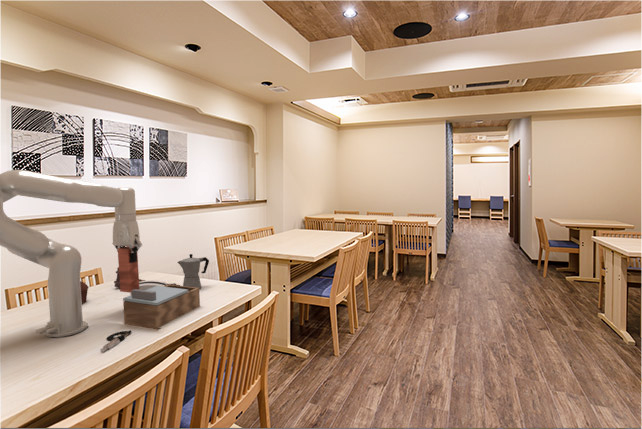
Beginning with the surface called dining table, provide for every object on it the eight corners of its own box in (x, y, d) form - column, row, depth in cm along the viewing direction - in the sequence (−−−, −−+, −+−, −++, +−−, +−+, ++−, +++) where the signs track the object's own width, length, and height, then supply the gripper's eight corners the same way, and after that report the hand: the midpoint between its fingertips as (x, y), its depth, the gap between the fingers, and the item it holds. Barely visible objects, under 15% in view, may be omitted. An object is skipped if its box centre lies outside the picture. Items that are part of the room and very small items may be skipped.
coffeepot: (179, 293, 174) (178, 257, 172) (176, 288, 182) (175, 253, 180) (211, 288, 182) (211, 254, 180) (207, 284, 190) (206, 250, 188)
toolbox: (158, 330, 130) (157, 306, 130) (124, 324, 136) (123, 301, 135) (199, 308, 153) (199, 287, 152) (169, 304, 158) (169, 284, 157)
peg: (129, 292, 145) (127, 249, 143) (120, 291, 147) (117, 248, 145) (139, 289, 150) (137, 247, 148) (130, 287, 152) (127, 246, 150)
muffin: (94, 302, 160) (92, 280, 159) (65, 309, 151) (64, 286, 150) (82, 297, 167) (80, 276, 166) (54, 304, 158) (52, 282, 157)
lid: (157, 305, 130) (156, 294, 129) (123, 300, 135) (122, 290, 134) (188, 291, 146) (188, 282, 145) (157, 288, 151) (156, 278, 150)
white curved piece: (171, 295, 171) (168, 277, 167) (169, 301, 167) (166, 283, 163) (133, 297, 168) (130, 279, 164) (130, 303, 164) (127, 285, 159)
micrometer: (115, 333, 129) (115, 326, 128) (134, 334, 128) (133, 327, 128) (84, 353, 114) (84, 345, 114) (105, 354, 113) (105, 346, 113)
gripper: (101, 218, 145) (104, 262, 146) (134, 219, 139) (136, 265, 141) (117, 216, 152) (120, 258, 153) (149, 217, 146) (151, 261, 148)
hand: (128, 261), depth 147 cm, fingers closed on peg, 4 cm apart
